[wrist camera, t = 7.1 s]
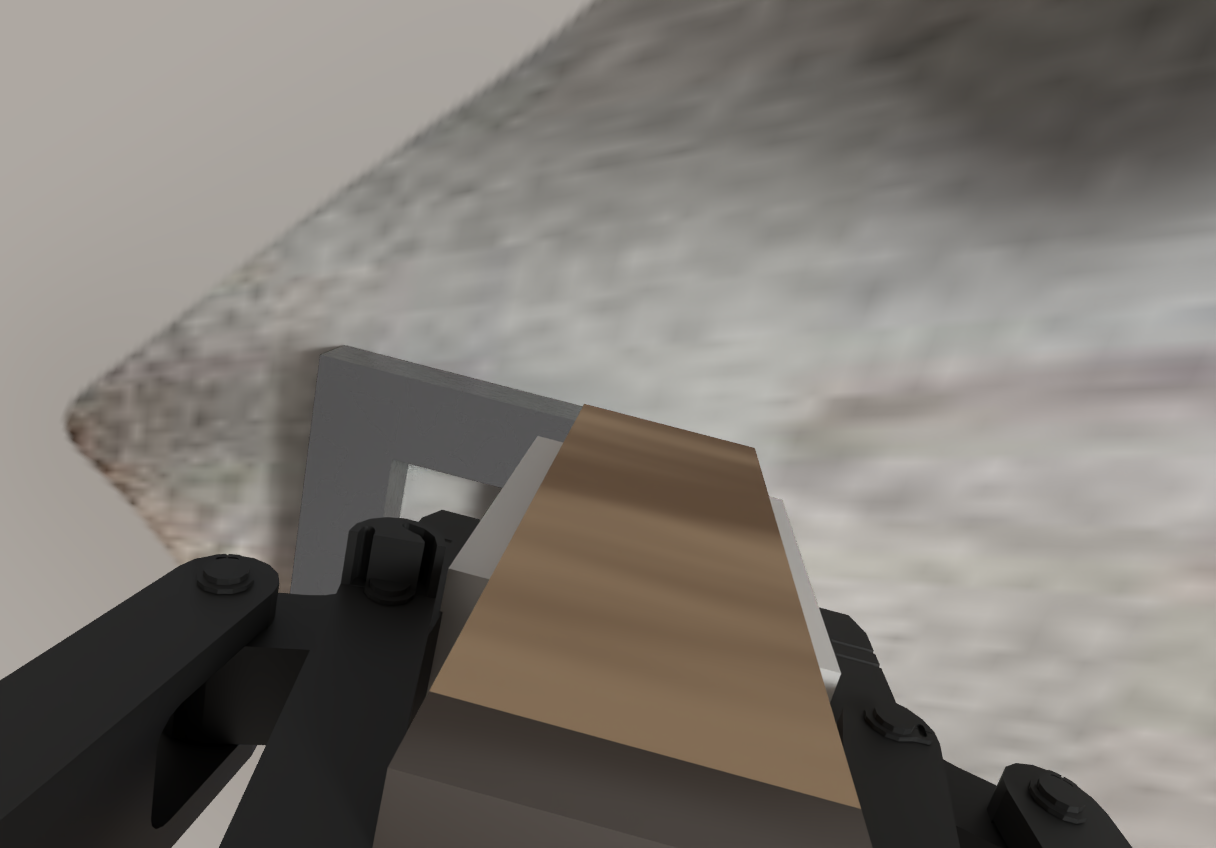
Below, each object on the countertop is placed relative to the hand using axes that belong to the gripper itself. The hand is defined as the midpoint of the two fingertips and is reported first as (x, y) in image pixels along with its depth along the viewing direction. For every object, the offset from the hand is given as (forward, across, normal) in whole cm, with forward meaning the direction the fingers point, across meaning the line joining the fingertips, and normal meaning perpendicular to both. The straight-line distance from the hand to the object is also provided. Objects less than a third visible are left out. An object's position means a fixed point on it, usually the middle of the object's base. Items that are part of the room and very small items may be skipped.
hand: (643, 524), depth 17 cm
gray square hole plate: (+19, -8, -10) cm, 23 cm away
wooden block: (+1, 0, 0) cm, 1 cm away
